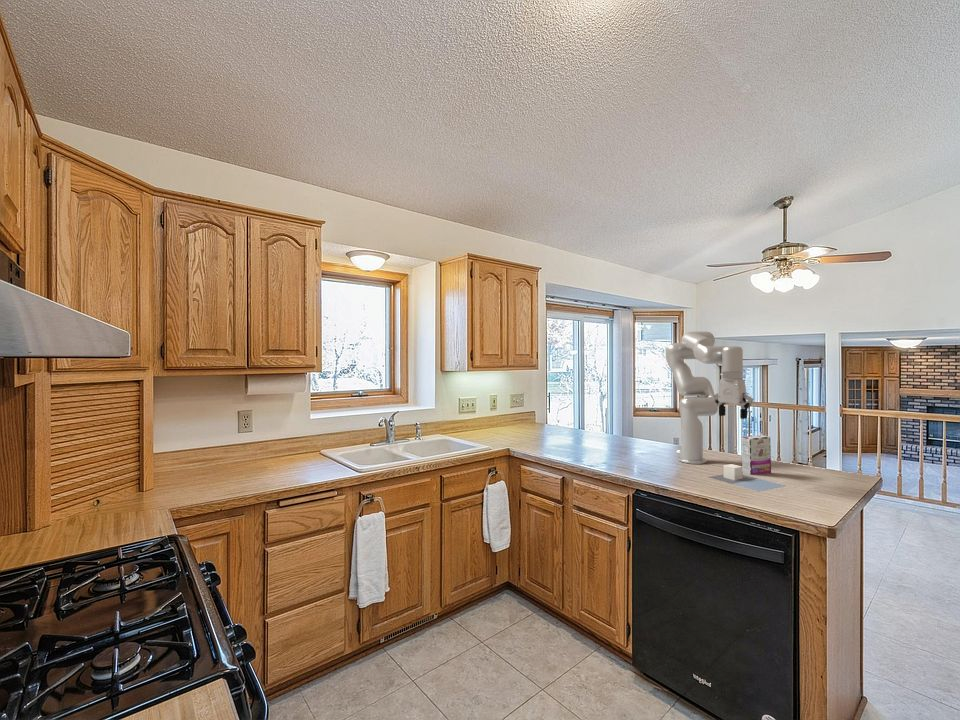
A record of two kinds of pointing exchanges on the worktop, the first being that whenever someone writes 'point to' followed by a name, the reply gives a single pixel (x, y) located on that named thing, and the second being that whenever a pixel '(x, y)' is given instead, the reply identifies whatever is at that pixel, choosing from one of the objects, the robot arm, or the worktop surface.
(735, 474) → the cream block
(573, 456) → the worktop surface
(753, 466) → the candy bar box
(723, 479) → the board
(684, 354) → the robot arm
